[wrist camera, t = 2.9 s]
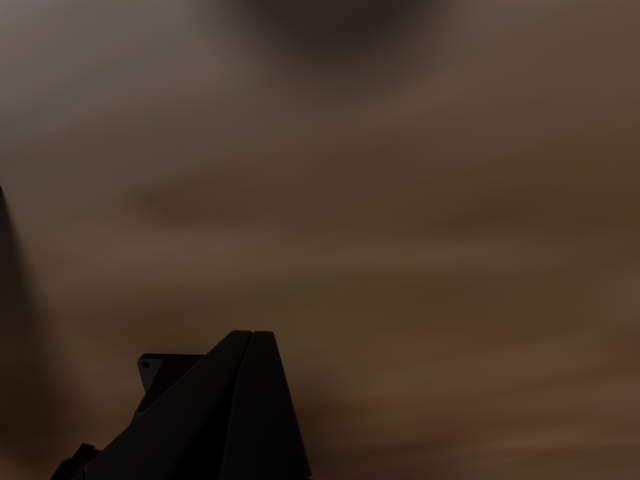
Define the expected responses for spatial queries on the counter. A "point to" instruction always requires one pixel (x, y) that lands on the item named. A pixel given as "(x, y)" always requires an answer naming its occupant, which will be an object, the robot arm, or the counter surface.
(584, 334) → the counter surface
